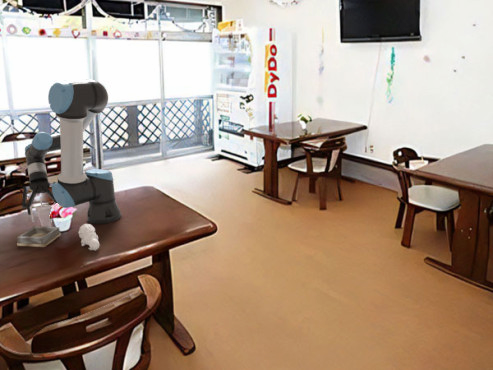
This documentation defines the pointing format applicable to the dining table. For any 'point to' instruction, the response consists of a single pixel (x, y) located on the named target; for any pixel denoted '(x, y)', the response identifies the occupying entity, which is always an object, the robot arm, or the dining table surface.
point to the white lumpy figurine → (89, 236)
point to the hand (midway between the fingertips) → (45, 218)
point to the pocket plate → (38, 236)
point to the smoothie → (44, 214)
